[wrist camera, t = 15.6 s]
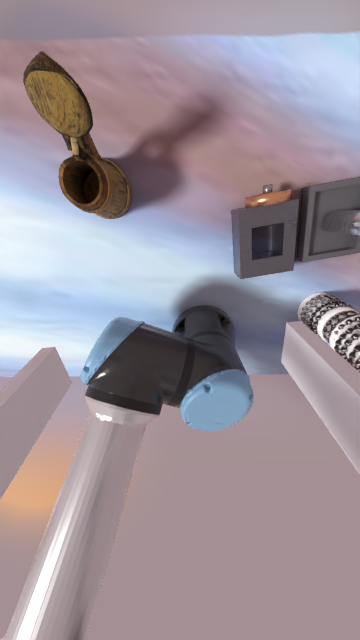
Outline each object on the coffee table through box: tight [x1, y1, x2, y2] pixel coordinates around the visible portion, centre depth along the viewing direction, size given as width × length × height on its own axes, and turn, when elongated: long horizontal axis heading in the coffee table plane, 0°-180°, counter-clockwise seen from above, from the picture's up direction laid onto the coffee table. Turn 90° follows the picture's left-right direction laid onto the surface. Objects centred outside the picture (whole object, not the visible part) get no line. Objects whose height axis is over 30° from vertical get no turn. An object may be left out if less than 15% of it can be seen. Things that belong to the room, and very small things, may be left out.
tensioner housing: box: [231, 184, 299, 279], centre depth 38 cm, size 15×10×8 cm
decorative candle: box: [297, 293, 360, 371], centre depth 38 cm, size 9×9×25 cm
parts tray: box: [296, 177, 360, 262], centre depth 39 cm, size 13×11×2 cm
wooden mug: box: [23, 52, 131, 219], centre depth 29 cm, size 9×14×18 cm, turn 173°
